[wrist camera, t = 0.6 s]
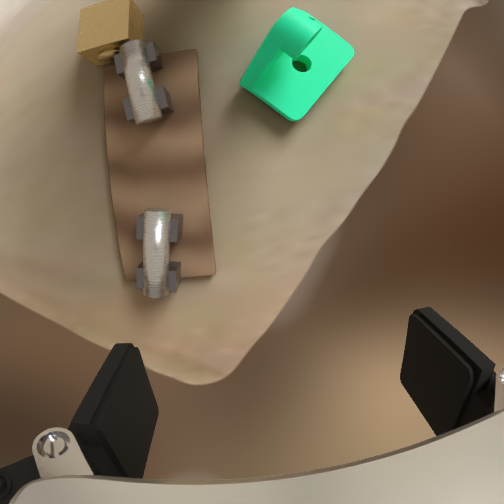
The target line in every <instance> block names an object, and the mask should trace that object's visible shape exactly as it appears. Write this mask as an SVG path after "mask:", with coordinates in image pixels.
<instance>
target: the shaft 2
mask: <svg viewBox="0 0 504 504" xmlns="http://www.w3.org/2000/svg"><path fill="white" fill-rule="evenodd" d="M182 232H183V214H173V213H171V210H170V209H165V208H146V209H144V213H142V214H140V215H138V216H137V229H136V239H140V240H143V261H142V262H141V263H140V264H139V265H138V266H137V268H136V273H137V289H143V294H144V295H145V296H146V297H149V298H163V297H166V296H168V294H169V292H176V291H177V289H178V287H179V284H180V282H181V262H175V261H169V251H170V242H178V241H179V239H180V238H181V237H182Z"/></svg>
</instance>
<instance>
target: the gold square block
mask: <svg viewBox="0 0 504 504" xmlns="http://www.w3.org/2000/svg"><path fill="white" fill-rule="evenodd" d="M132 40H143V14H142V13H141V11H140V9H139V8H138V6H137V5H136V3H135V2H134V0H109V1H105V2H102V3H99V4H95V5H92V6H89V7H86V8H83V9H81V10H80V20H79V31H78V46H77V53H78V54H80V55H81V56H83V57H85V58H86V59H88V60H89V61H91V62H92V63H94V64H95V65H97V66H100V65H103V64H107V63H112V62H115V60H114V55H117V54H119V53H120V50H119V48H120V47H121V46H122V45H123V44H124V43H126V42H129V41H132Z"/></svg>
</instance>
